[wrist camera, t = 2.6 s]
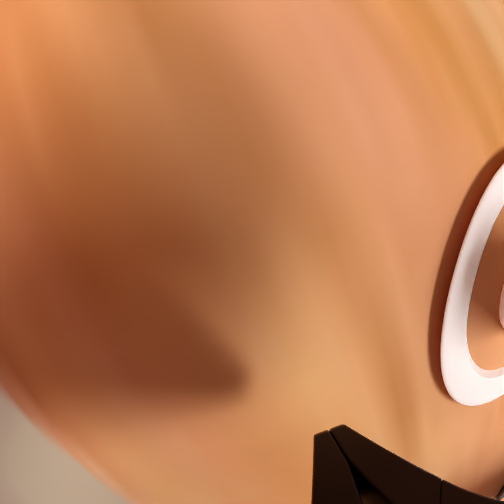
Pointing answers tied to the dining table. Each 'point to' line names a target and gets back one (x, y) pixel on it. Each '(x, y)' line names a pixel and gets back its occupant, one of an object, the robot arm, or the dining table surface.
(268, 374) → the dining table surface
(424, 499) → the robot arm
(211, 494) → the dining table surface
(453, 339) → the white ring with cylinder
